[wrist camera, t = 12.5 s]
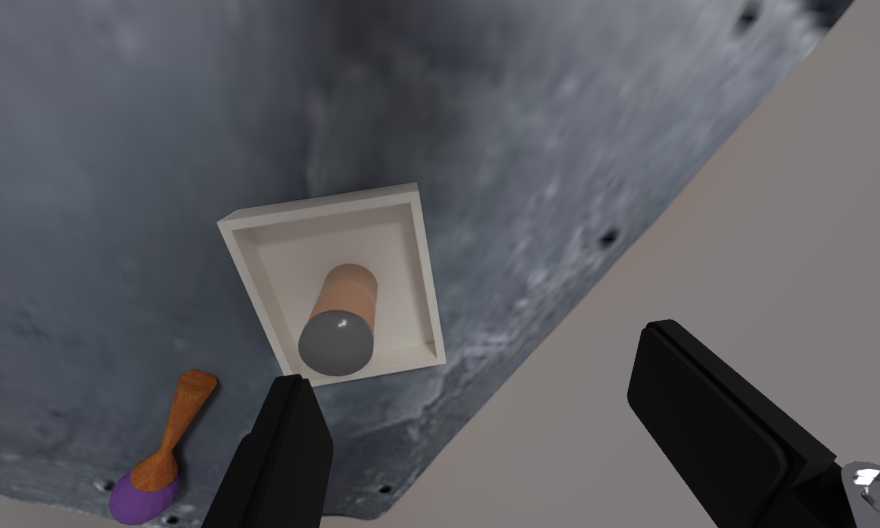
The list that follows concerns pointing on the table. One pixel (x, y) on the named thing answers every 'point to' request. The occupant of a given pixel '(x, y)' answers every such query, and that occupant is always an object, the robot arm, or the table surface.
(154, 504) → the brown purple handled piece
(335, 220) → the tray
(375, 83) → the table surface
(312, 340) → the cylinder
